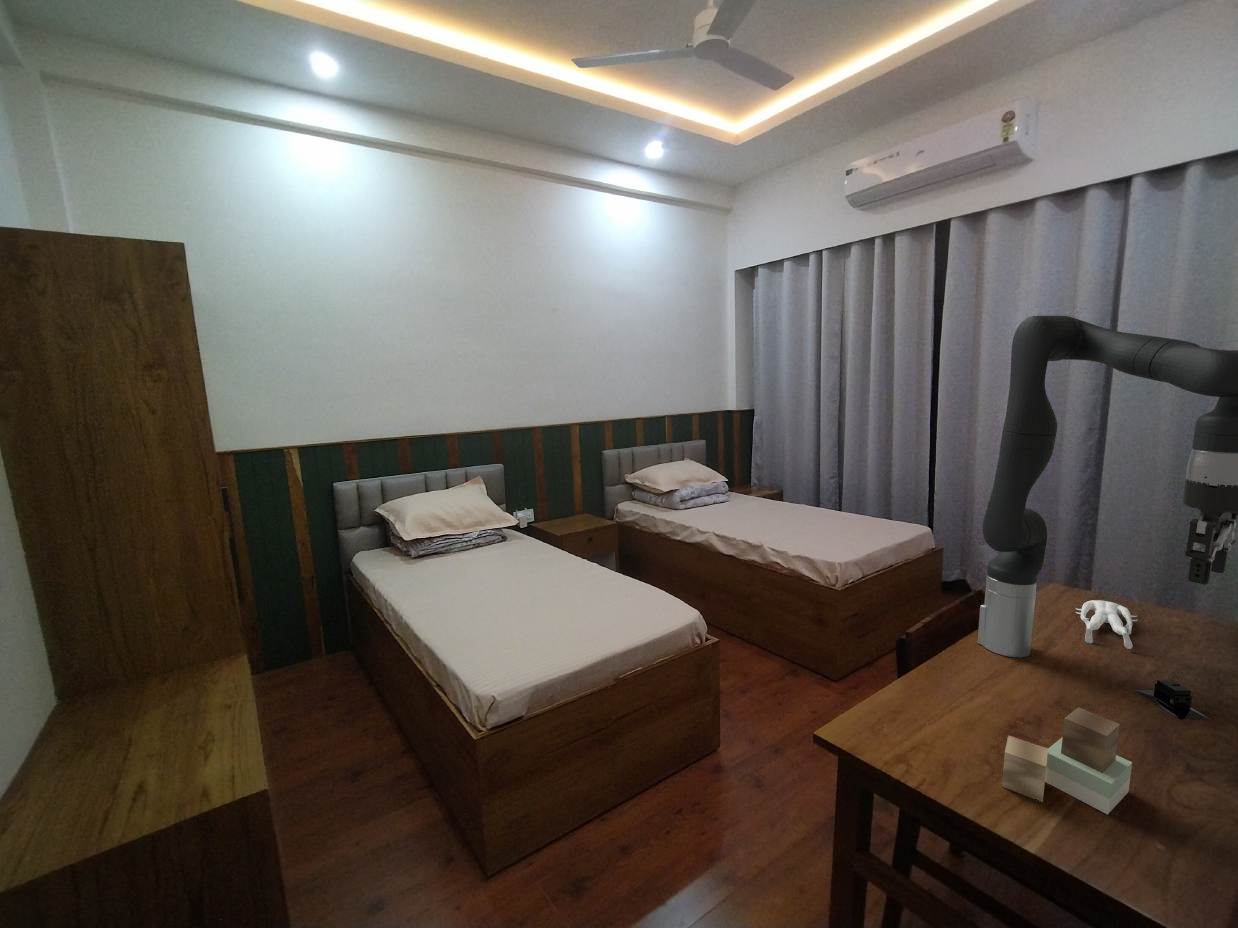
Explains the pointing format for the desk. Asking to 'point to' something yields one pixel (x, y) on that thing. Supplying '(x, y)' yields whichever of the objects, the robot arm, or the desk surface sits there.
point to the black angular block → (1173, 699)
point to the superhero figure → (1107, 619)
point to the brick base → (1086, 792)
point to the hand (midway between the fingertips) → (1206, 576)
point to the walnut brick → (1090, 739)
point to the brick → (1025, 768)
